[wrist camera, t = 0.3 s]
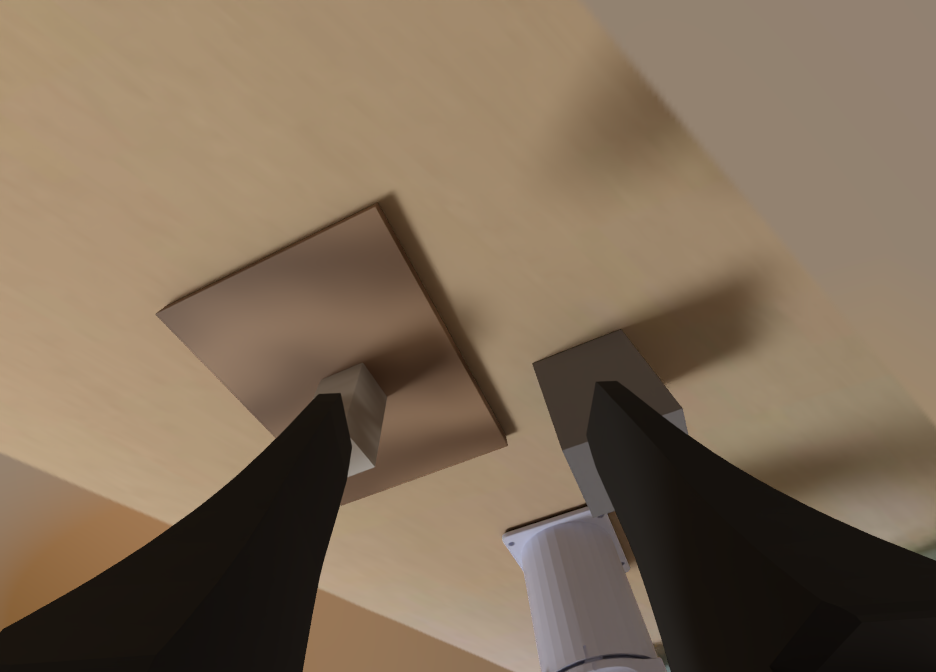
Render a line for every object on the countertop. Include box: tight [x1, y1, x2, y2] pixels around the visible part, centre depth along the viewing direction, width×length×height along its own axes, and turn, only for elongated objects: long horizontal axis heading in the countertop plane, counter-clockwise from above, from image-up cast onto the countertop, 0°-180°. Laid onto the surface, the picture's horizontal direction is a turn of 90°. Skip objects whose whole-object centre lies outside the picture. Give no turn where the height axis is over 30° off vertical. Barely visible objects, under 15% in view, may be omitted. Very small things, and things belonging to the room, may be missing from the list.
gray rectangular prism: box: [533, 329, 688, 518], centre depth 21 cm, size 5×5×7 cm
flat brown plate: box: [155, 203, 508, 506], centre depth 21 cm, size 16×12×6 cm
